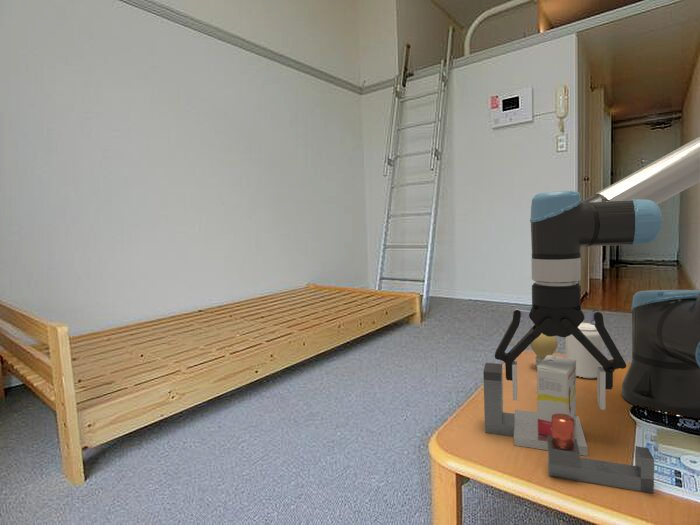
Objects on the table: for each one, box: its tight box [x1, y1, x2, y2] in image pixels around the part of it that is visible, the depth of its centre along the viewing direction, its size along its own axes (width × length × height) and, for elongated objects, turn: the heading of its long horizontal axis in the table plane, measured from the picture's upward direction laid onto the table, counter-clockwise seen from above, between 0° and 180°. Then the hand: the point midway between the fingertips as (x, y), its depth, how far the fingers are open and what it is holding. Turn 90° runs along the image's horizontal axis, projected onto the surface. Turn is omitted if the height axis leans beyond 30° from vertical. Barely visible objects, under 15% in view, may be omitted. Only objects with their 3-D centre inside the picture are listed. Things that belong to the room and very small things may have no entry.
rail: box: [547, 445, 655, 494], centre depth 60 cm, size 13×3×5 cm, turn 67°
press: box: [483, 362, 588, 457], centre depth 74 cm, size 16×11×12 cm
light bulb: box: [529, 334, 558, 369], centre depth 104 cm, size 6×6×10 cm
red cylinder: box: [547, 414, 581, 469], centre depth 62 cm, size 4×4×6 cm
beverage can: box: [565, 322, 605, 379], centre depth 100 cm, size 8×8×12 cm
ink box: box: [536, 354, 577, 436], centre depth 72 cm, size 9×5×12 cm, turn 142°
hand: (556, 402), depth 72 cm, fingers open, 13 cm apart
